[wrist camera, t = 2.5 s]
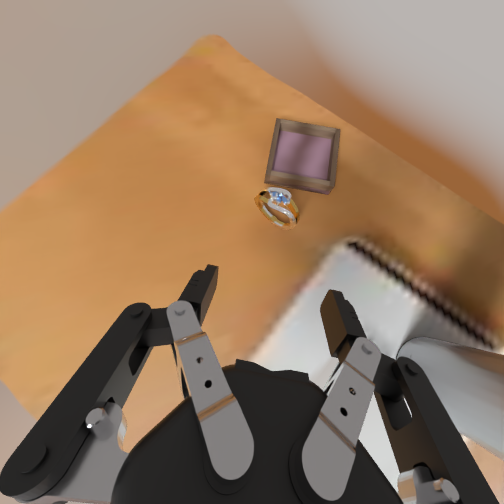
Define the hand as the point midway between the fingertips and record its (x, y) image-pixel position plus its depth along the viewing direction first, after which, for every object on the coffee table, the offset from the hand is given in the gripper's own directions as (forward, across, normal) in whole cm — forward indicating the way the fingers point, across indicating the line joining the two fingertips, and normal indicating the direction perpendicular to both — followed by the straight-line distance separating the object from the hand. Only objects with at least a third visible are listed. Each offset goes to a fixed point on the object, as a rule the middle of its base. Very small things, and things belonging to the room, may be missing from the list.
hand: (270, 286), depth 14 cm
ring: (+19, 0, +3) cm, 20 cm away
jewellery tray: (+28, -3, -6) cm, 28 cm away
